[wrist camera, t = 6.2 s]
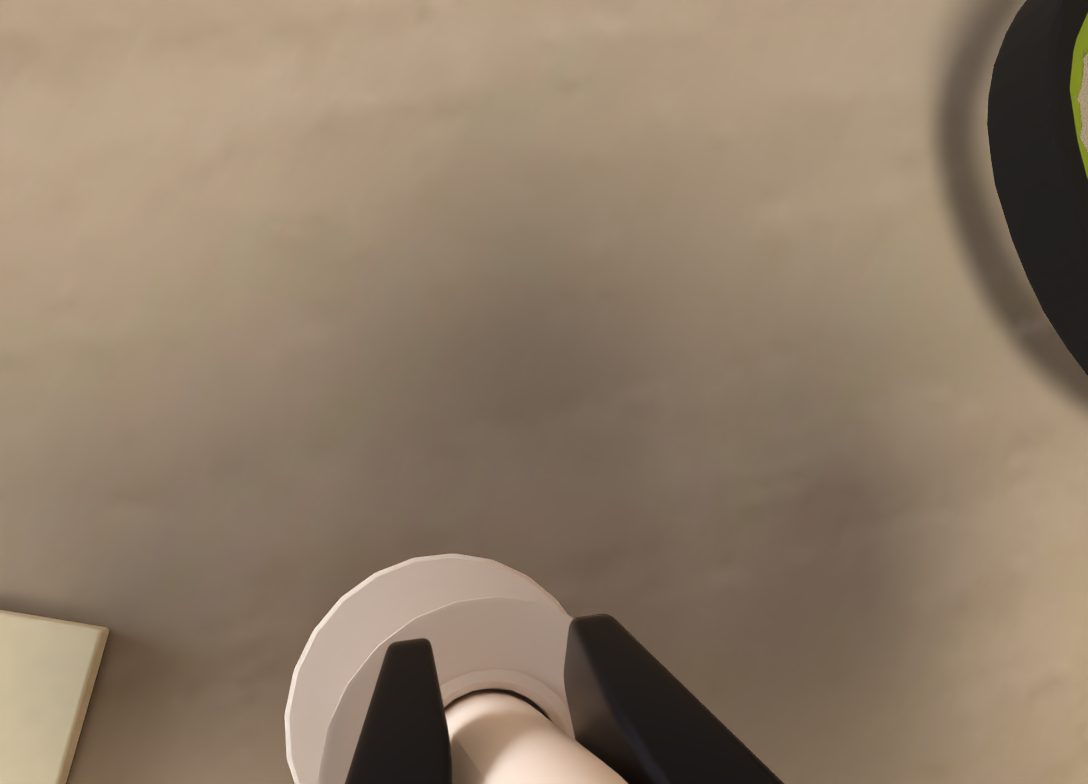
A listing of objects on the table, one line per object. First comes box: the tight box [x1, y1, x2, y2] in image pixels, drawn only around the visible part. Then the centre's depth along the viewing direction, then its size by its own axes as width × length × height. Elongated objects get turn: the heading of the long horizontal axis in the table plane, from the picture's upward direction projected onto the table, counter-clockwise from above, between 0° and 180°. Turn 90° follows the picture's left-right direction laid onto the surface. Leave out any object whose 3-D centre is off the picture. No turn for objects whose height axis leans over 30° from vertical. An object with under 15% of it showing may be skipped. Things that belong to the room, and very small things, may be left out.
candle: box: [284, 553, 628, 784], centre depth 10 cm, size 5×5×10 cm
